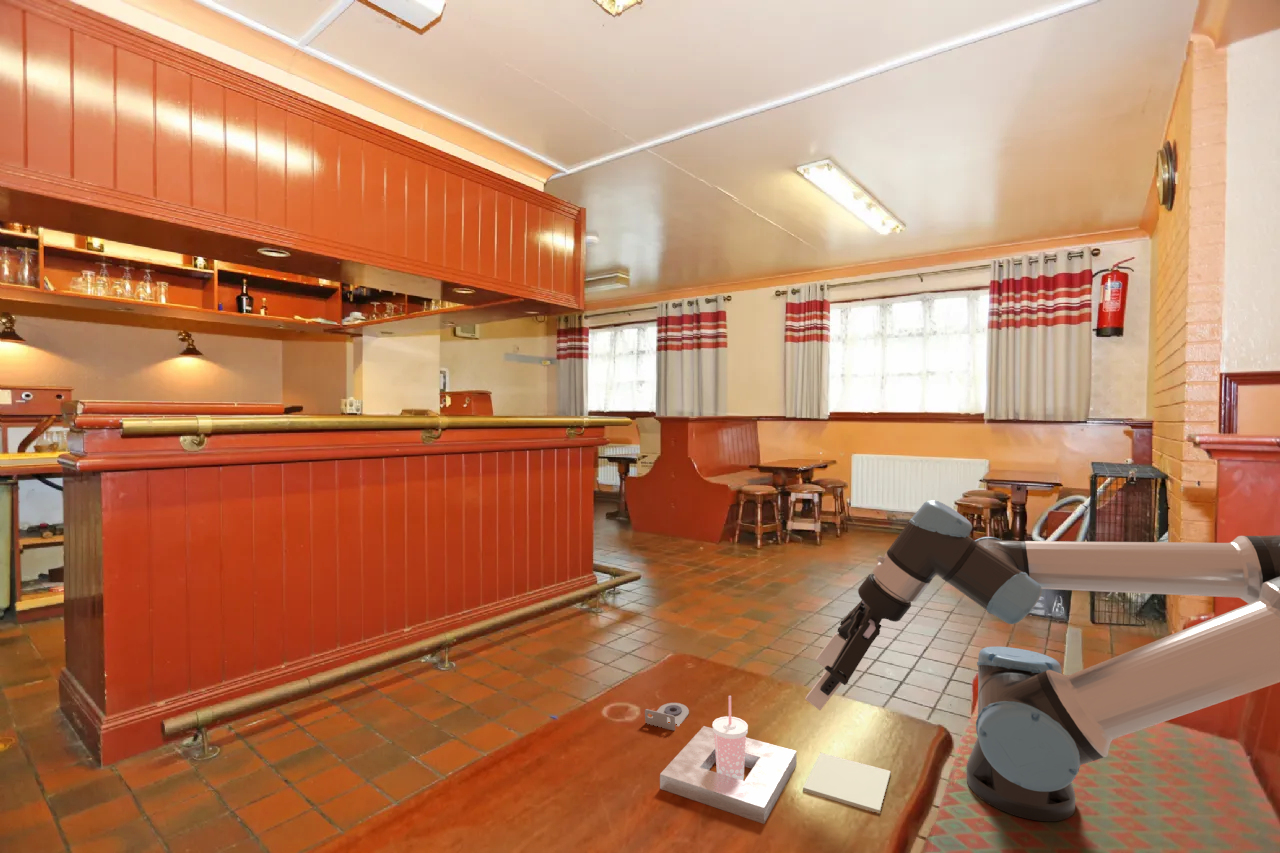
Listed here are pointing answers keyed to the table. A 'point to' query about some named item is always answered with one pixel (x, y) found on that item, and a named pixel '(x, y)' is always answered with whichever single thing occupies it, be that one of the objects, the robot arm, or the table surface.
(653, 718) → the bracket
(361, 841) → the table surface
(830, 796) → the beige pad
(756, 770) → the white square frame
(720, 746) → the beverage cup
